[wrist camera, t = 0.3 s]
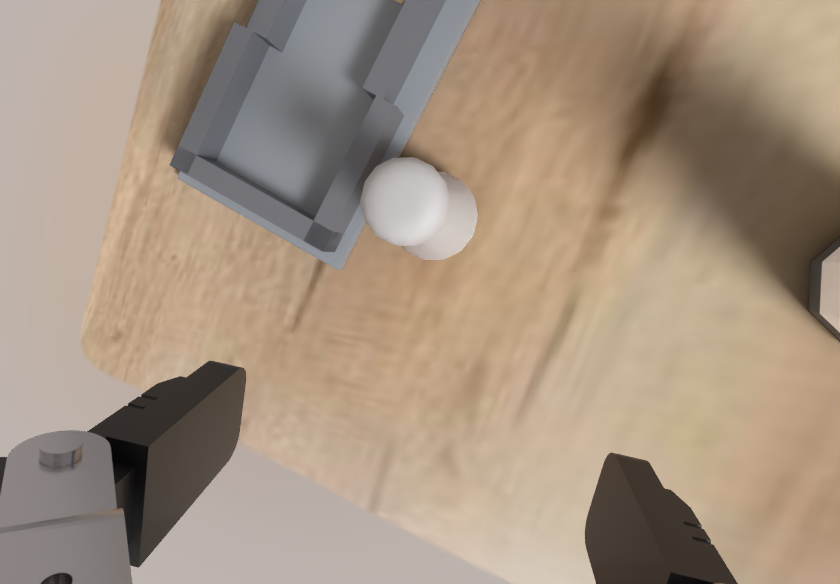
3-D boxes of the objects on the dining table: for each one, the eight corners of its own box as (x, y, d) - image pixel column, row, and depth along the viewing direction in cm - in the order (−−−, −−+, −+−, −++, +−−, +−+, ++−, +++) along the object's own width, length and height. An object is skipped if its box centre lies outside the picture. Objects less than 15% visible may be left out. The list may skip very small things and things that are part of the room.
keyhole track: (341, 269, 40) (325, 270, 36) (185, 180, 41) (154, 173, 38) (520, -77, 36) (520, -112, 33) (340, -159, 38) (322, -201, 34)
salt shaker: (384, 237, 39) (319, 227, 26) (419, 163, 38) (370, 115, 25) (457, 274, 38) (427, 282, 25) (494, 199, 37) (483, 168, 25)
